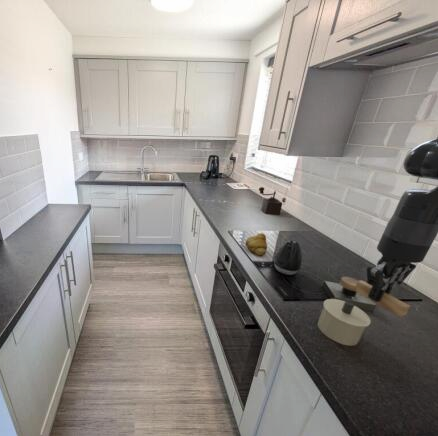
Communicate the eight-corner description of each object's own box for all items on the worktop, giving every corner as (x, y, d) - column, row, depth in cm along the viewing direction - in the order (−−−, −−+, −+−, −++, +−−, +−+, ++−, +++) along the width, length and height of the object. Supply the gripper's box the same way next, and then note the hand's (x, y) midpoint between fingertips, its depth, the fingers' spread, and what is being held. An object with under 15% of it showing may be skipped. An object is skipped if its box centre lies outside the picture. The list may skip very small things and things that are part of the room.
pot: (348, 323, 75) (356, 305, 72) (365, 350, 65) (376, 330, 63) (312, 315, 77) (319, 297, 74) (324, 340, 68) (332, 321, 65)
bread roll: (268, 258, 111) (272, 243, 108) (247, 255, 113) (250, 240, 110) (262, 245, 123) (265, 232, 120) (243, 243, 125) (246, 230, 122)
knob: (339, 289, 86) (343, 278, 84) (346, 287, 87) (351, 277, 85) (350, 296, 82) (355, 285, 80) (358, 294, 83) (363, 283, 82)
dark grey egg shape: (267, 270, 101) (275, 239, 96) (277, 262, 108) (285, 233, 102) (292, 281, 94) (303, 249, 89) (301, 272, 101) (311, 241, 95)
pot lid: (357, 306, 72) (362, 295, 71) (378, 333, 62) (384, 322, 61) (317, 298, 75) (320, 288, 74) (331, 323, 65) (336, 312, 64)
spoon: (408, 315, 54) (414, 305, 53) (396, 318, 53) (401, 308, 52) (346, 280, 66) (350, 271, 65) (335, 282, 65) (339, 273, 64)
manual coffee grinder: (274, 210, 179) (280, 187, 173) (279, 215, 169) (286, 191, 163) (253, 208, 181) (258, 186, 175) (257, 213, 171) (263, 190, 165)
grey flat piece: (357, 293, 89) (360, 286, 87) (373, 312, 80) (376, 304, 78) (322, 286, 92) (324, 280, 91) (332, 303, 83) (335, 296, 82)
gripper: (405, 227, 57) (377, 285, 63) (366, 232, 53) (341, 293, 59) (449, 240, 50) (413, 304, 56) (408, 248, 46) (375, 314, 53)
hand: (376, 298), depth 58 cm, fingers closed on spoon, 2 cm apart
